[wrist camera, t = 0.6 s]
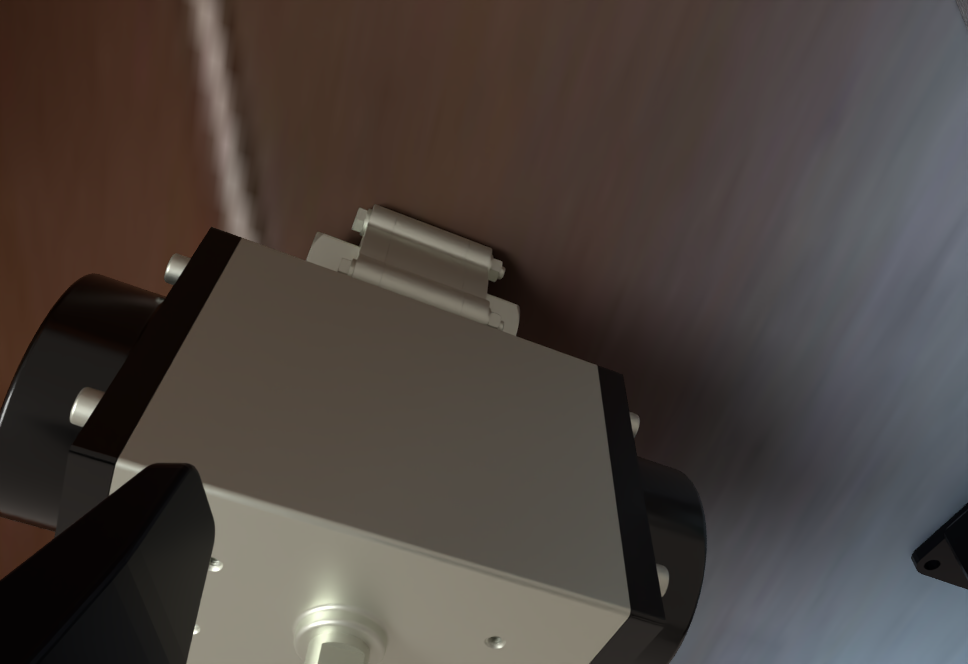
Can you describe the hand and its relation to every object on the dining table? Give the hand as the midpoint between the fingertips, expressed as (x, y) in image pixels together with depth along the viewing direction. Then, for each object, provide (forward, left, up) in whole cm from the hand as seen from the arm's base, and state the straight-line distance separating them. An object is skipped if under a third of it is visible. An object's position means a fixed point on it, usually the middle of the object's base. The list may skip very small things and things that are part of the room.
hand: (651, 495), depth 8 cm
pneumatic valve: (+2, +7, -13) cm, 15 cm away
